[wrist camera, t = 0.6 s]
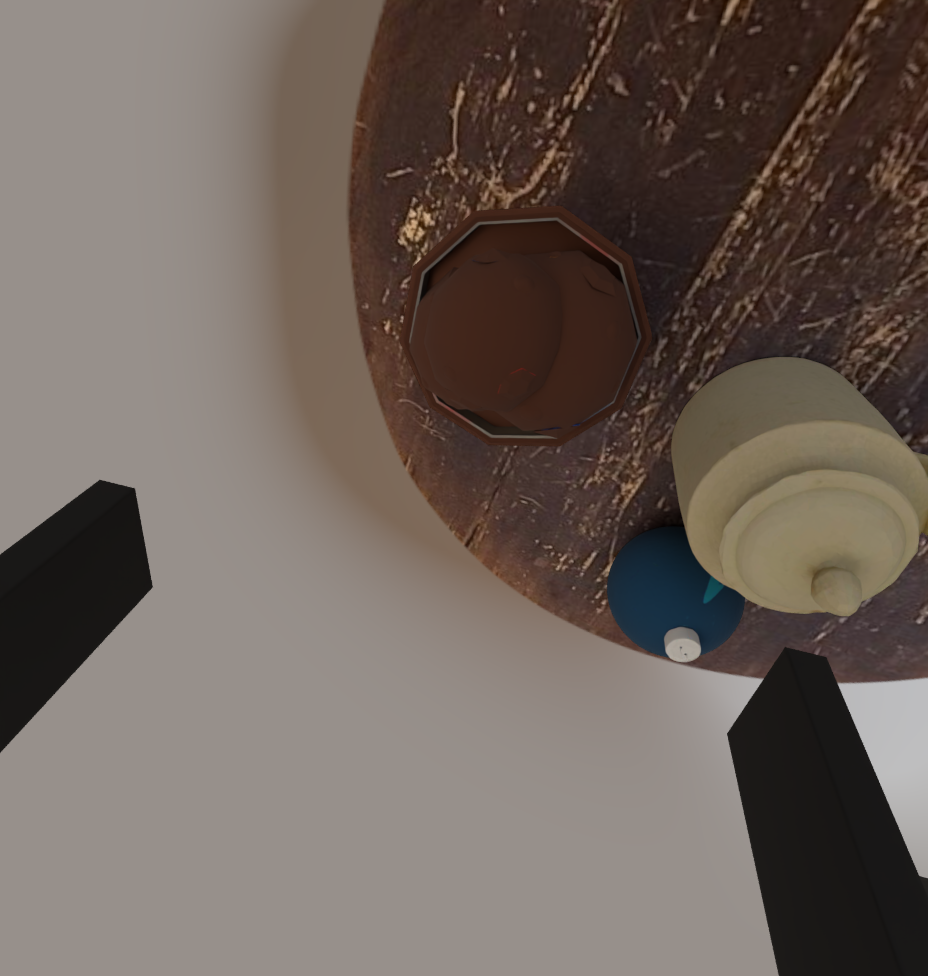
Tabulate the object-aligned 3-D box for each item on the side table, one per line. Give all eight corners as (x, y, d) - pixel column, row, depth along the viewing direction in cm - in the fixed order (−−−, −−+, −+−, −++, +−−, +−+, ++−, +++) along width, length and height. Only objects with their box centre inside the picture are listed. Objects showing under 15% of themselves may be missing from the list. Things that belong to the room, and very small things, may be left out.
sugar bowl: (917, 282, 31) (1137, 405, 18) (961, 452, 35) (1165, 644, 22) (640, 405, 37) (663, 558, 24) (706, 536, 41) (755, 724, 29)
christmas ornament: (751, 570, 42) (789, 685, 34) (640, 609, 46) (650, 722, 37) (698, 482, 39) (726, 584, 31) (584, 531, 43) (582, 634, 34)
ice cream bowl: (430, 349, 37) (348, 471, 25) (472, 151, 31) (390, 183, 19) (592, 398, 37) (591, 545, 25) (668, 208, 31) (717, 278, 19)
